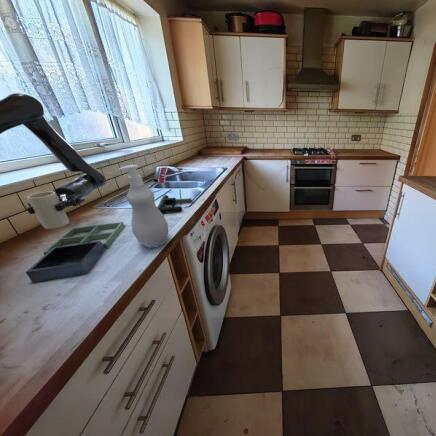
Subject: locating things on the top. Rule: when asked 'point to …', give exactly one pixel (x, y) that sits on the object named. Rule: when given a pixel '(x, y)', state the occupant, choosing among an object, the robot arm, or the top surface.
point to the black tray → (66, 261)
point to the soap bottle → (145, 212)
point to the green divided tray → (89, 235)
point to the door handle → (171, 201)
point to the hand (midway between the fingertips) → (43, 209)
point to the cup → (48, 209)
